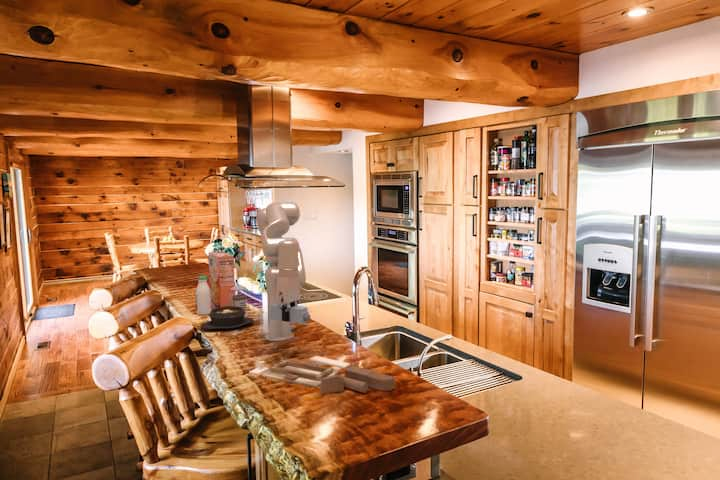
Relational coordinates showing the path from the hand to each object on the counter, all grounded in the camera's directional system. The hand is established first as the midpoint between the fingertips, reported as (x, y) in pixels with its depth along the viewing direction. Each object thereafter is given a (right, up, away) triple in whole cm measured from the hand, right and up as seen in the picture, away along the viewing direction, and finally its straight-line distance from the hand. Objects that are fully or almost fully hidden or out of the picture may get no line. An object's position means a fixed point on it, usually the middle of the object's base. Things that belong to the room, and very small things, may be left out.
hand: (289, 319), depth 187 cm
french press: (-37, -9, +68) cm, 77 cm away
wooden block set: (+26, -18, -31) cm, 45 cm away
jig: (+7, -16, -17) cm, 24 cm away
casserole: (-36, -11, +45) cm, 59 cm away
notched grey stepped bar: (0, 0, 0) cm, 1 cm away
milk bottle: (-55, -9, +70) cm, 90 cm away
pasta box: (-50, -7, +84) cm, 98 cm away
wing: (+16, -16, -6) cm, 23 cm away
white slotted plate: (-9, -17, -15) cm, 24 cm away
